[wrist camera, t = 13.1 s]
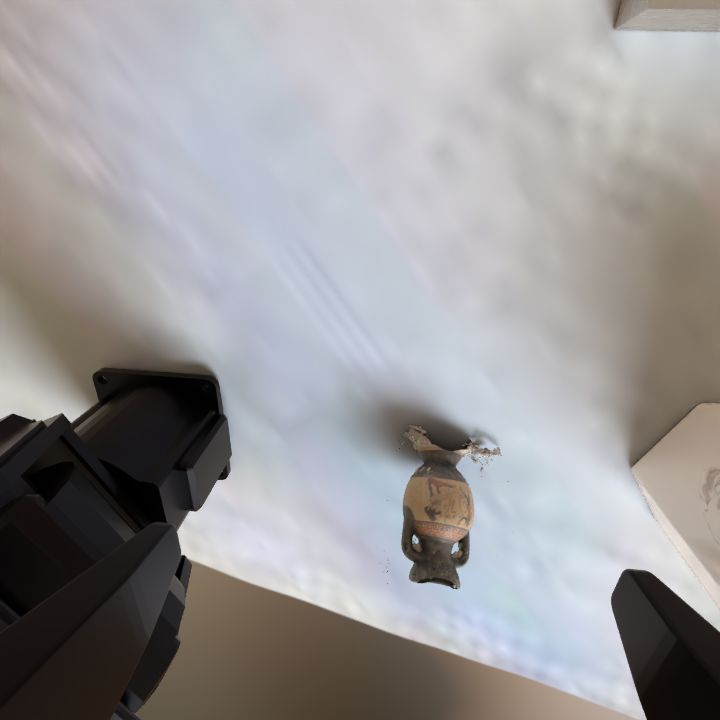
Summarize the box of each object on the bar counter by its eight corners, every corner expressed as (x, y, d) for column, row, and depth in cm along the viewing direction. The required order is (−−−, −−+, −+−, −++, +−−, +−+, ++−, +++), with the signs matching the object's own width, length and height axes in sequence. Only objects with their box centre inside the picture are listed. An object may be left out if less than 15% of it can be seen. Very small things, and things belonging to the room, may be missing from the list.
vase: (466, 519, 24) (475, 622, 18) (377, 490, 24) (360, 584, 18) (504, 448, 21) (527, 543, 16) (404, 417, 21) (394, 500, 16)
